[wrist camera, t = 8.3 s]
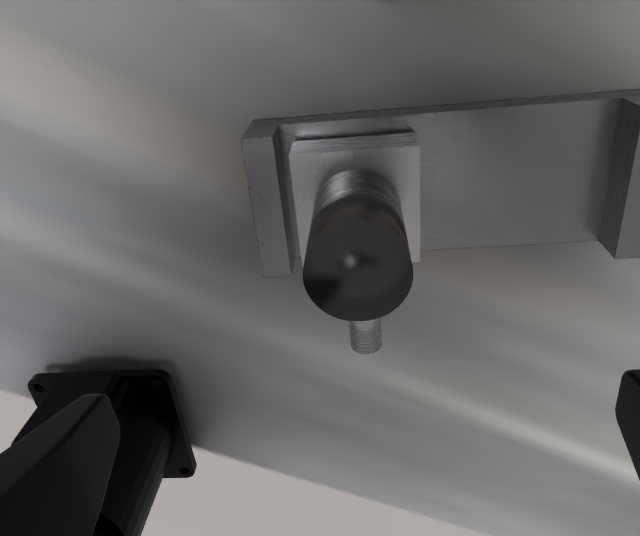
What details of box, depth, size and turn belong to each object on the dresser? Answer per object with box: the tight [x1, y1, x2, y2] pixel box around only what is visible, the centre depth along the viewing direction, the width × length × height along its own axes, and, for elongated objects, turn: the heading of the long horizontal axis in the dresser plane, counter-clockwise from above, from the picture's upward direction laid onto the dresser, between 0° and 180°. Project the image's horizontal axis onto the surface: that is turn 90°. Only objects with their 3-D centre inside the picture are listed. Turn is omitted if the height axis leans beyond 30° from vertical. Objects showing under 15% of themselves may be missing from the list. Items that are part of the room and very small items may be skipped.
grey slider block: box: [289, 132, 420, 354], centre depth 17 cm, size 8×4×6 cm, turn 5°
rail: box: [241, 89, 640, 277], centre depth 18 cm, size 5×13×2 cm, turn 95°
